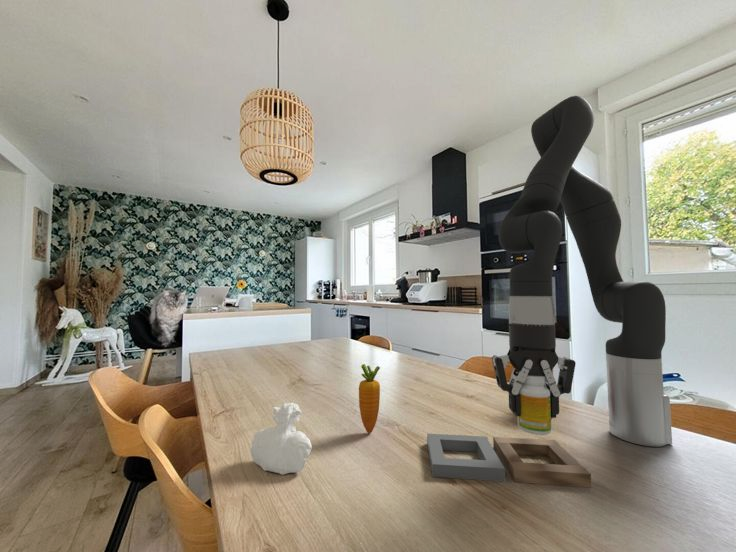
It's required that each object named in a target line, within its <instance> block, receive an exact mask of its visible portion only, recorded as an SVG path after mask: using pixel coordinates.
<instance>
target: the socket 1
mask: <svg viewBox="0 0 736 552" xmlns="http://www.w3.org/2000/svg"><path fill="white" fill-rule="evenodd" d="M426 444H427V450H428V456H429V457H428V458H429V462H430V471H431V474H432V475H431V476H432V478H433V477H434V478H447V479H448V478H450V479H462V480H463V479H464V480H479V481H480V480H481V481H492V482H493V481H494V482H496V481H498V482H506V467H505V466H504V464H503V462H502V461H501V459H500V457H499V456H498V454H497V452H496V451H495V449H494V447H493V446H492V444H491V443H490V441H489V439H488V438H487V436H483V435H461V434H446V433H445V434H441V433H427V434H426ZM444 451H450V452H451V451H453V452H454V451H455V452H471V453H477V455H478V458H479V459H472V458H471V459H469V458H456V457H455V458H453V457H451V458H450V457H445V454H444Z"/></svg>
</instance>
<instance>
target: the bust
mask: <svg viewBox="0 0 736 552" xmlns="http://www.w3.org/2000/svg"><path fill="white" fill-rule="evenodd" d="M272 409H273V412H272V414H273V416H272V420H273V422H275V424H276V426H269V427H265V428H264V429H260V430H258V431H257V432H255V434H254V435H253V439H252V440H251V447H250V454H251V455H250V456H251V458H252V461H253V462H254V463H255V464H257V465H258V466H259V467H261V469H262V470H263V471H268V472H270V473H271V472H272V473H277V474H280V475H282V476H283V475H286V474H290V473H293V474H295V473H300V472H302V470H304V468H305V465H306V463H307V460H308V459H309V455H310V453H311V451H312V447H313V446H312V443H311V440H310V438H309V436H307V435H306V434H305V433H304V432H303V431H299V430H296V428H297V427H296V425H295V422H300V415H302V410H301V409H300V406H299V404H297V403H295V402H293V401H292V402H289V403H283V404H282V405H279V406H273V407H272Z"/></svg>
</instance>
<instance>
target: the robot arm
mask: <svg viewBox="0 0 736 552" xmlns="http://www.w3.org/2000/svg"><path fill="white" fill-rule="evenodd" d="M594 123H595V115H594V111H593V108H592V106H591V104H589V101H587V100H586V98H584V97H582V96H579V95H571V96H569V97H567V98H565V99H563V100H561V101H560V102H558V103H557V104H556V105H554V106H553V107H551V108H550V109H549V110H547V111H545V113H543V114H542V115H540V116H539V117H537V118H536V119H535V120H534V121H533V122H532V124H531V128H530V133H531V138H532V141H533V143H534V147H535V148H536V151H537V152H538V155H539V156H540V158H539V160H538V161H537V162H536V163H535V165H534V166H533V168H532V169H531V171H530V172H529V174H528V175H527V178H526V180H525V183H524V186H523V187H522V188H523V189H522V192H521V195H520V197H519V198H518V200H516V202H515V203H514V204H513V206H512V207H511V208H510V210H509V211H508V212H507V214H506V215H505V216H504V218H503V219H502V221H501V223H500V226H499V229H498V241H499V245H500V247H501V248H502V249H503V250H504V251H505V252H507V253H509V254H521V253H530V252H533V253H532V255H531V256H530V258H529V260H528V261H526V262H523V263H520V264H517V265H515V266H513V267H511V269H510V270H509V303H508V336H509V337H508V338H509V339H508V341H509V343H508V345H509V348H508V349H509V350H508V352H507V353H506V354H504V355H499V356H498V355H495V354H494V355H492V356H491V360H492V361H491V362H492V365H493V370H494V375H495V379H496V384H497V386H498V387H499V388H500V390H502V391H503V392H508V408H509V410H510V412H512V414H513V415H514V416H515V417H517V416H520V395H519V394H518V393H519V391H520V388H521V386H522V384H524V382H525V380H526V377H527V375H528V376H545V384H544V385H545V387H546V388H548V389H549V391H550V404H551V419H552V418H553V419H556V418H557V415H559V414H560V396H561V395H563V394H570V393H571V392H572V386H573V381H574V375H575V369H576V361H575V360H573V359H571V358H568V357H565V356H564V357H560V356H558V354H557V352H556V345H557V344H556V343H557V341H556V315H555V314H556V313H555V312H556V311H555V304H554V297H553V294H554V293H553V270H554V267H555V261H556V258H557V254H558V251H559V249H560V244H561V240H562V236H563V224H562V221H561V218H560V217H559V216H558V215H557V214H556V213H555V212H556V210H557V209H558V207H559V206H560V203H561V205H562V210H563V212H564V215H565V218H566V221H567V223H568V226H569V229H570V231H571V234H572V235H573V238H574V240H575V242H576V245H577V246H576V247H577V249H578V251H579V255H580V257H581V260H582V263H583V267H584V269H585V273H586V277H587V281H588V285H589V289H590V292H591V296H592V301H593V303H594V307H595V309H596V311H597V312H598V314H599V315H600V316H601V318H603V319H605V320H606V321H609V322H613V323H622V324H621V325H622V326H621V333H620V334H619V335H617V336H616V337H613V338H609V339H607V340H606V341H605V360H606V361H605V362H606V382H607V384H606V385H607V386H606V387H607V402H608V404H607V405H608V408H607V409H608V424H609V427H608V428H609V433H610V434H612V435H613V436H614V437H616V438H619V440H623V441H626V442H628V443H632V444H637V445H639V446H644V447H645V446H646V447H664V446H667V445H673V435H672V434H673V433H672V431H673V430H672V419H671V418H672V415H671V400H670V396H668V395H666V394H665V391H664V378H663V377H664V376H663V362H662V360H663V359H662V357H663V356H662V352H663V351H662V350H663V349H664V346H665V343H666V326H667V325H666V314H667V313H666V312H667V307H666V300H665V297H664V295H663V293H662V292H663V291H661V289H660V288H659V287H658V286H657V285H656V284H655V283H652V282H650V281H642V280H636V281H624V279H623V278H622V276H621V273H620V270H619V267H618V264H617V258H616V257H617V256H616V254H617V248H618V244H619V240H620V235H621V229H622V218H621V215H620V212H619V209H618V207H617V204H616V201H615V200H614V197H613V194H612V193H611V191H610V190H608V188H607V187H605V186H604V185H603V184H601V183H600V182H599V181H596V180H595V179H593V178H591V177H590V176H588V175H586V174H584V173H583V172H581V171H580V170H578V169H577V168H576V167H575V166H574V163H575V161H576V159H577V157H578V156H579V154H580V152H581V150H582V148H583V146H584V144H585V143H586V141H587V139H588V138H589V136H590V134H591V132H592V130H593V127H594ZM508 362H509V363H510V364H511V366H512V367H513V370H512V372H511V373H510V374H511V375H510V379H509V382H508V379H507V376H506V371H505V369H506V368H507V365H508ZM556 365H557V367H558V368H559V372H558V377H557V378H558V379H557V380H556V378H555V376H554V373H553V374H552V372H551V371H552V369H553V370H554V368H555V366H556Z"/></svg>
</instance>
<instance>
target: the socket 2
mask: <svg viewBox="0 0 736 552" xmlns="http://www.w3.org/2000/svg"><path fill="white" fill-rule="evenodd" d="M492 439H493V441H492V442H493V443H492V444H493V446H492V448H493V449H494V451H495V453H496V454H497V456H498V458H499V459H500V461H501V463H502V465H503V466H504V468H505V470H506V471H507V472H508V473H509V476H510V477H511V479H512V481H513V482H514V483H523V484H524V483H525V484H526V483H527V484H539V485H551V486H552V485H553V486H567V487H569V486H571V487H583V488H585V487H586V488H592V477H591V476H592V474H591V472H590V471H589V470H587V468H586V467H584V466H583V465H582V464H581V463H580V462H579V461H578V460H576V458H574V456H573V455H571V454H570V453H569V452H568V450H566V449H565V448H564V447H563V446H562V445H561V444H560V443H559V442H558V441H557V440H555V439H541V438H540V439H539V438H538V439H537V438H522V437H521V438H520V437H506V436H505V437H501V436H493V437H492ZM519 455H522V456H523V455H525V456H540V457H541V456H542V457H543V456H544V457H546V456H547V457H549V458H550V460H551V461H552V462H553V463H554V464H553V463H540V462H539V463H537V462H524V461H523V460H522V458H521V457H520V456H519Z"/></svg>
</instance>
